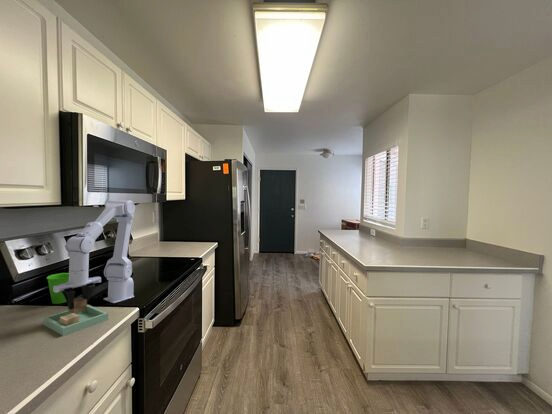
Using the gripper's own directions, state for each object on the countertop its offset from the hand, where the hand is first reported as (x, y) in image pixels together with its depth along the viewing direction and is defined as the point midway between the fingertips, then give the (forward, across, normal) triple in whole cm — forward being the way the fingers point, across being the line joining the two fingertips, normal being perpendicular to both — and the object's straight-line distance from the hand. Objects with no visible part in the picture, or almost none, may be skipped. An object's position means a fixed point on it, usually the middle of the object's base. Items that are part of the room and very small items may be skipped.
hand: (78, 306), depth 97 cm
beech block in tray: (+4, +5, +6) cm, 9 cm away
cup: (+5, -4, -24) cm, 25 cm away
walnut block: (+2, 0, 0) cm, 2 cm away
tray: (+5, +2, +2) cm, 6 cm away
